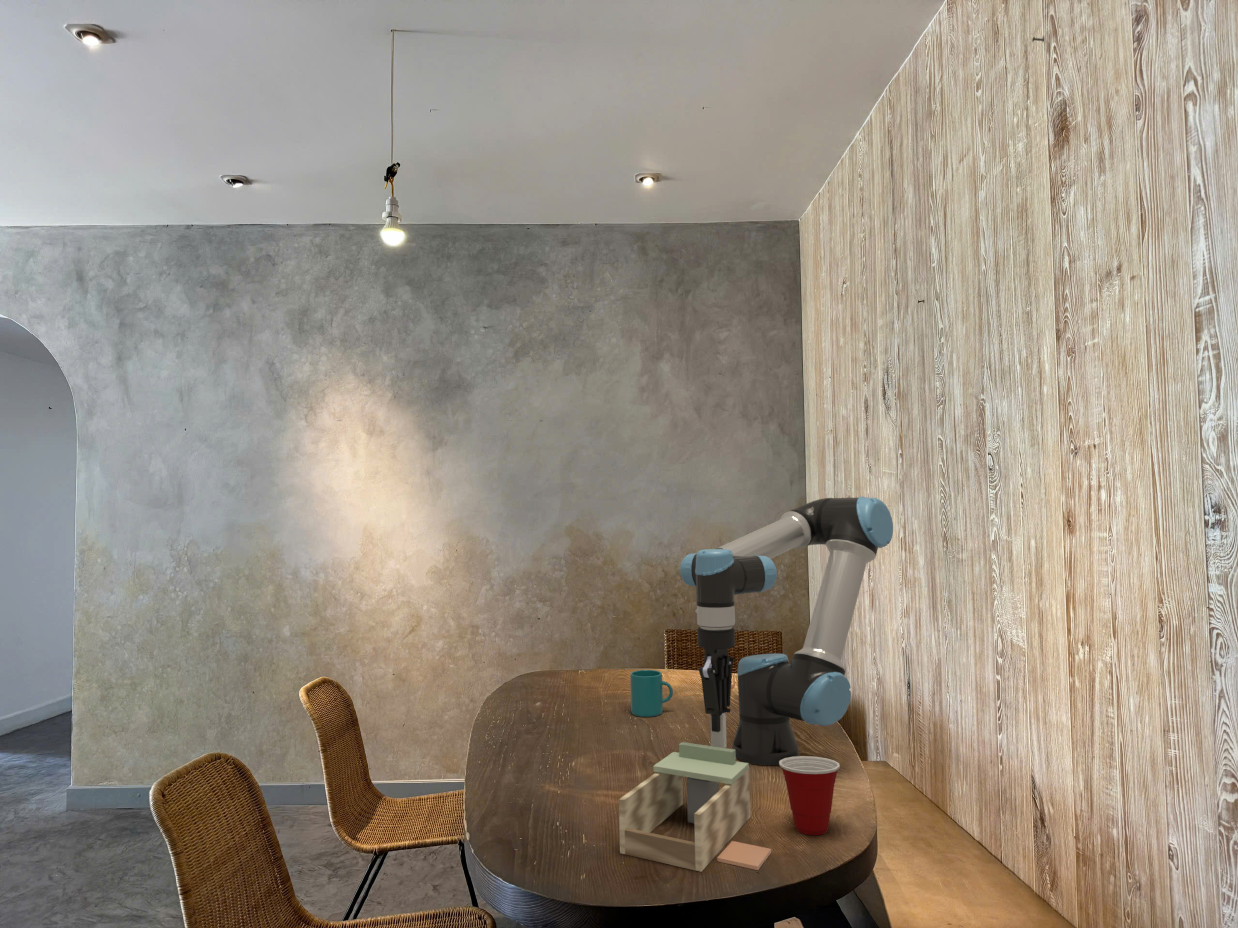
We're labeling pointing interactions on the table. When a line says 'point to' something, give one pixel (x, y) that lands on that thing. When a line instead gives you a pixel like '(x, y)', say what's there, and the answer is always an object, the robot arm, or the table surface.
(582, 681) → the table surface
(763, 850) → the terracotta coaster
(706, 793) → the slate block
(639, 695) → the cup
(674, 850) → the wooden box
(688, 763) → the cover
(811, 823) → the plastic cup
